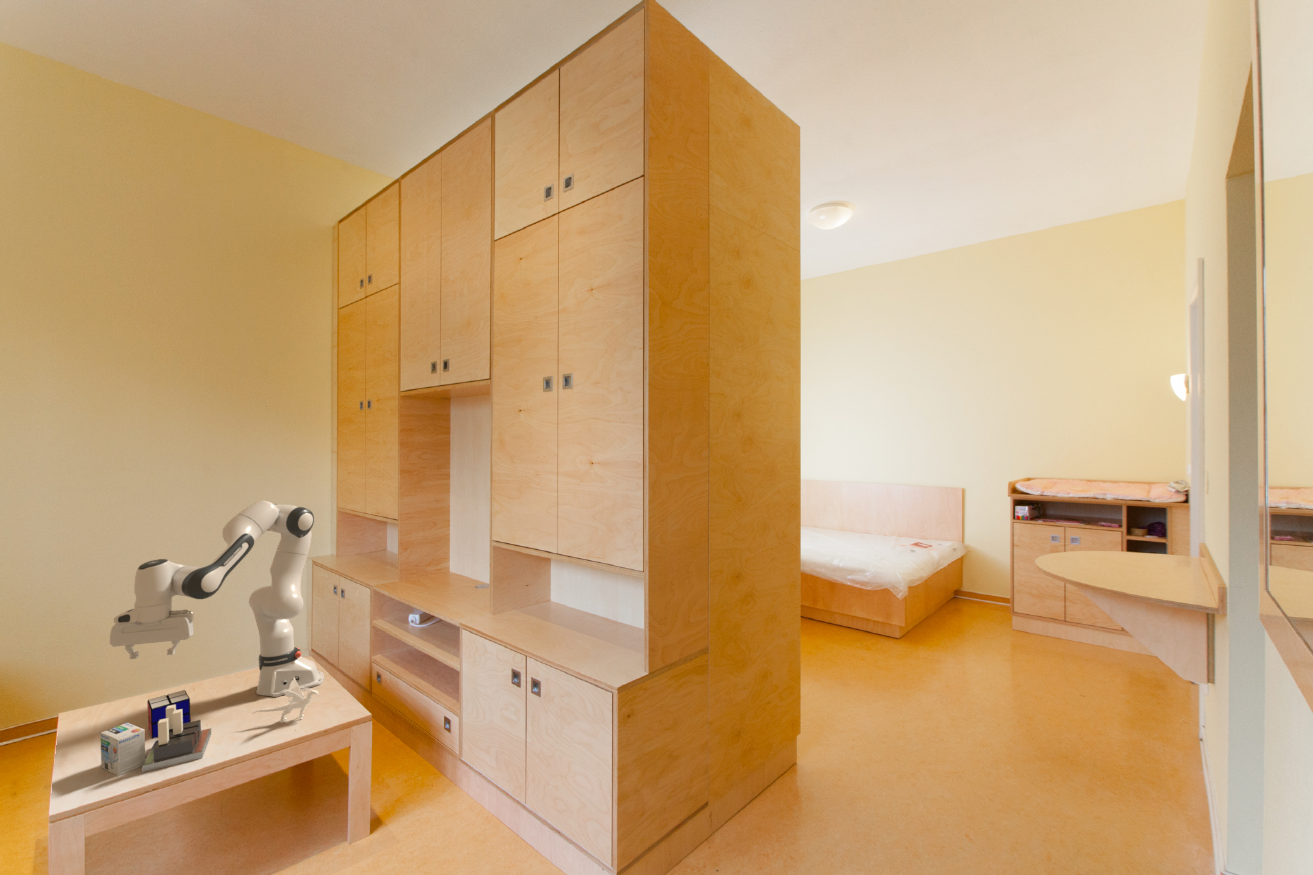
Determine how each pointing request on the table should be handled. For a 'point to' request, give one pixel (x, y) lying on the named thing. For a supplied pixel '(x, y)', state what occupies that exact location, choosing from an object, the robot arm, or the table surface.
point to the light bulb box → (122, 748)
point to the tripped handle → (177, 722)
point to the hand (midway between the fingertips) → (152, 656)
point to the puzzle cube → (159, 709)
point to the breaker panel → (178, 747)
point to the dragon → (293, 700)
